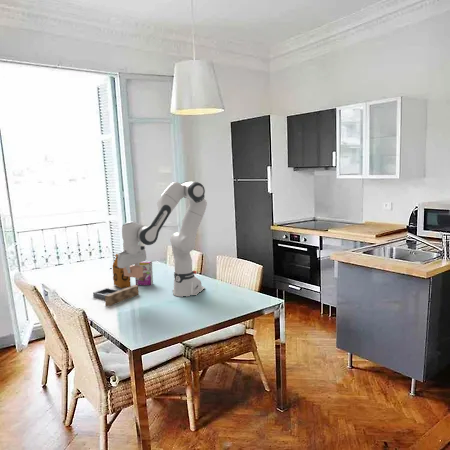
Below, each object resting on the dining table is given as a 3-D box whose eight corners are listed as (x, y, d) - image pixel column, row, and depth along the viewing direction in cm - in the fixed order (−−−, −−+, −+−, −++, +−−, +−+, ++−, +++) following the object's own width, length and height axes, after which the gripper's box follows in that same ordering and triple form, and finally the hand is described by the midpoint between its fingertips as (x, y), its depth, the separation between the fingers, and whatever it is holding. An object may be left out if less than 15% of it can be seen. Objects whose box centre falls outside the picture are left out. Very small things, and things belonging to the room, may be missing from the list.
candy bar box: (135, 285, 267) (134, 262, 265) (137, 283, 272) (136, 260, 270) (151, 285, 266) (150, 262, 264) (153, 283, 271) (152, 260, 269)
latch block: (129, 274, 236) (128, 264, 235) (143, 276, 229) (142, 266, 228) (124, 275, 232) (123, 266, 231) (138, 278, 226) (137, 268, 225)
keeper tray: (107, 292, 254) (106, 287, 253) (125, 296, 245) (125, 291, 244) (93, 297, 245) (93, 292, 244) (111, 301, 236) (111, 296, 235)
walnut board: (135, 293, 249) (134, 284, 248) (138, 294, 247) (138, 285, 247) (105, 305, 229) (104, 295, 228) (109, 306, 227) (108, 296, 227)
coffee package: (118, 289, 259) (116, 257, 256) (112, 285, 269) (110, 254, 266) (132, 286, 265) (131, 255, 262) (125, 282, 275) (124, 252, 271)
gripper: (121, 253, 218) (123, 277, 220) (147, 245, 235) (149, 268, 237) (113, 252, 221) (116, 275, 224) (139, 245, 238) (141, 267, 240)
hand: (133, 271), depth 230 cm, fingers closed on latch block, 4 cm apart
